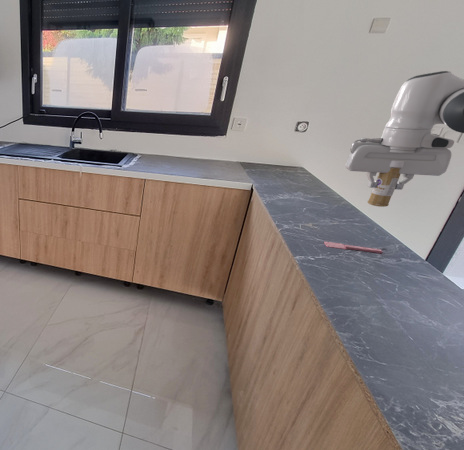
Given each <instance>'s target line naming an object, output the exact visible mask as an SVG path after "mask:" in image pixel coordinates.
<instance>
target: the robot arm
mask: <svg viewBox="0 0 464 450" xmlns="http://www.w3.org/2000/svg"><path fill="white" fill-rule="evenodd" d="M436 125H446V126H447V127H448V128H449V129H450V130H453V131H455V132H456V133H457V132H458V133H460V134H464V78H462V77H459V76H457V75H455V74H453V73H452V71H448V70H440V71H435V72H429V73H423V74H418V75H415V76H412V77H410V78H408V79H407V80H406V81H404V83H402V85H401V87H400V88H399V90H398V92H397V94H396V97H395V98H394V101H393V104H392V106H391V109H390V118H389V120H388V122H386V124H385V126H384V129H383V132H382V134H381V137H371V138H370V137H369V138H368V137H361V138H360V139H357V140H355V141H353V143H352V144H351V147H350V153H349V155H348V157H347V159H346V162H345V164H344V165H345V169H347V170H348V171H349V172H362V173H366V176H367V179H368V183H367V187H368V188H372V189H373V188H376V187H377V185H378V182H377V181H376V180H375V179H374V177H376V176H377V174H379V173H388V172H389V171H390V170H391V169H390V168H391V167H390V164H391V161H394V160H395V161H404V162H405V163H404V165H403V167H402V168H401V169H400V170H399V174H400V175H402V177H403V178H402V179H400V180H398V182H397V185H396V187H395V190H398V191H399V190H400V191H401V190H403V189H404V186H405V185H406V184H407V183H409V182H410V181H411V180H412V179H413V178H414V177H415V176H416V175H417V176H435V177H440V176H442V175H443V174H445V173H446V172H447V170H448V168H449V165H450V162H451V159H452V151H451V150H450V149H451V148H452V147H453V146H454V144H455V140H454V139H451V138H448V137H445V136H441V135H439V134H438V133H437V134H436V133H432V131H433V128H434V127H435V126H436Z"/></svg>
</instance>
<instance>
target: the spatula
mask: <svg viewBox="0 0 464 450" xmlns="http://www.w3.org/2000/svg"><path fill="white" fill-rule="evenodd" d="M323 244H324V245H325V247H326V248H331V249H339V250H345V251H347V250H351V251H360V252H367V253H373V254H381V255H382V254H383V250H382V249H380V248H374V247H366V246H358V245H351V244H344V243H340V242H333V241H323Z"/></svg>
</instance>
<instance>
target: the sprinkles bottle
mask: <svg viewBox="0 0 464 450" xmlns="http://www.w3.org/2000/svg"><path fill="white" fill-rule="evenodd" d="M404 163H405V162H404V161H395V160H394V161H391V164H390V167H391V168H390V169H391V170H390V171H389V172H388V173H378V175H377V178H376V180H375V181H377V182H378V185H377V187H376V188H372V190H371V193H370V196H369V198H368V200H367V203H368V204H369V205H371V206H373V207H379V208H380V207H381V208H382V207H383V208H384V207H388V206H389V203H390V201H391V199H392V196H393V194H394V192H395V190H396V189H395V187H396V185H397V182H399V181H400V180H399V179H400V177H401V174H399V170H400V169H401V168H402V167H403V165H404Z"/></svg>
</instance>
